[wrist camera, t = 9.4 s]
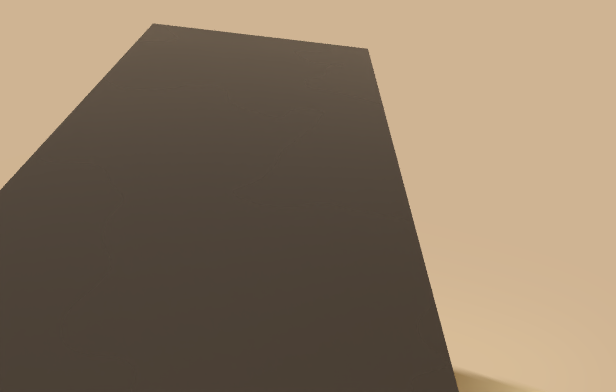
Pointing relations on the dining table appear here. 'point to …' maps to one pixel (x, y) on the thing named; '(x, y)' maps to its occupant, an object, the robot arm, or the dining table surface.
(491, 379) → the dining table surface
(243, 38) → the block
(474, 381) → the dining table surface
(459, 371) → the dining table surface
